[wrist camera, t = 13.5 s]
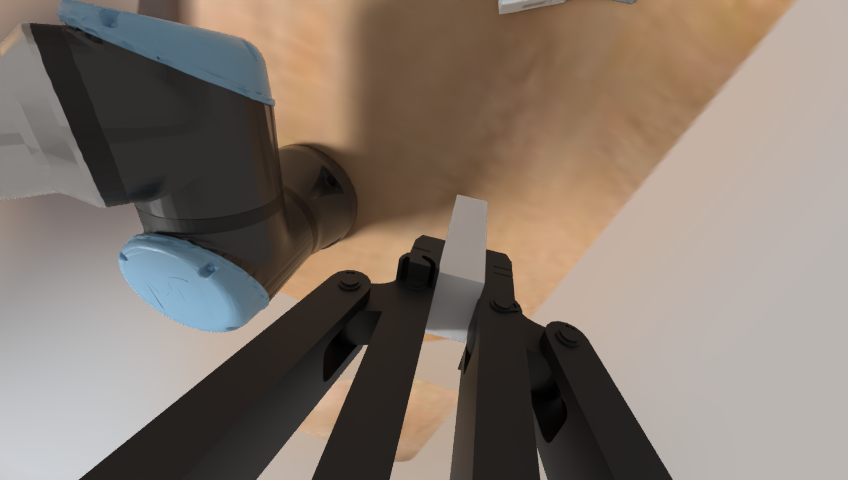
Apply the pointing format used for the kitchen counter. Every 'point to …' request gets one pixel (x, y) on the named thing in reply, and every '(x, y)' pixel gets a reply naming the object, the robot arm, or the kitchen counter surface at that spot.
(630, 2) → the mat
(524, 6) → the small box
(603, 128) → the kitchen counter surface
